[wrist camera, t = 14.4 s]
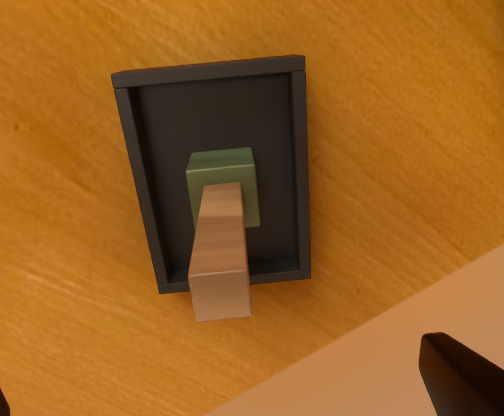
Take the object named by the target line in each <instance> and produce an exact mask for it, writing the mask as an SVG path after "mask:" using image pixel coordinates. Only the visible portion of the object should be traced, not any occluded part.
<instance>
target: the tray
mask: <svg viewBox="0 0 504 416" xmlns="http://www.w3.org/2000/svg"><path fill="white" fill-rule="evenodd" d="M304 70H305V56H303V55H297V54H296V55H285V56H275V57H264V58H253V59H243V60H232V61H222V62H211V63H201V64H190V65H180V66H169V67H158V68H148V69H137V70H127V71H121V72H117V73H113V74H111V79H112V84H113V88H114V92H115V97H116V101H117V106H118V110H119V115H120V119H121V124H122V128H123V133H124V137H125V142H126V146H127V151H128V155H129V160H130V164H131V169H132V173H133V178H134V182H135V186H136V191H137V195H138V200H139V204H140V209H141V213H142V218H143V222H144V227H145V231H146V236H147V240H148V245H149V249H150V254H151V258H152V263H153V267H154V272H155V276H156V280H157V284H158V290H159V294H167V293H177V292H186V291H190V286H189V281H188V273H189V267H190V261H191V256H192V250H193V245H194V239H195V233H196V231H195V227H194V221H193V215H192V209H191V203H190V197H189V191H188V185H187V179H186V173H185V172H186V169H187V166H188V163H189V160H190V157H191V154H192V153H195V152H205V151H215V150H225V149H235V148H245V147H251V148H252V153H253V157H254V162H255V169H256V180H257V192H258V203H259V215H260V226H256V227H246V228H245V233H246V245H247V257H248V269H249V280H250V285H253V284H263V283H273V282H282V281H292V280H302V279H311V253H310V216H309V180H308V144H307V107H306V72H305V71H304Z"/></svg>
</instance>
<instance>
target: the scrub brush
mask: <svg viewBox="0 0 504 416" xmlns="http://www.w3.org/2000/svg"><path fill="white" fill-rule="evenodd" d="M185 173H186V179H187V185H188V191H189V197H190V203H191V209H192V215H193V221H194V227H195V231H196V233H195V239H194V245H193V250H192V256H191V261H190V267H189V273H188V281H189V286H190V292H191V297H192V303H193V308H194V313H195V319H196V321H197V322H206V321H216V320H225V319H234V318H244V317H250V316H251V315H252V304H251V292H250V280H249V269H248V257H247V245H246V233H245V228H246V227H256V226H260V215H259V203H258V192H257V180H256V169H255V162H254V157H253V153H252V148H251V147H245V148H235V149H225V150H215V151H205V152H195V153H192V154H191V157H190V160H189V163H188V166H187V169H186V172H185Z"/></svg>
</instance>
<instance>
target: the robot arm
mask: <svg viewBox="0 0 504 416" xmlns="http://www.w3.org/2000/svg"><path fill="white" fill-rule="evenodd" d="M419 370H420V373H421V376H422V378H423V381H424V383H425V386H426V388H427V391H428V393H429V396H430V398H431V401H432V403H433V406H434V408H435V411H436V413H437V416H504V370H503V369H502V368H500V367H498V366H497V365H495V364H494V363H492V362H490V361H489V360H487V359H485V358H484V357H482V356H481V355H479V354H478V353H476V352H474V351H473V350H471V349H470V348H468V347H466V346H465V345H463V344H462V343H460V342H458V341H457V340H455V339H454V338H452V337H450V336H449V335H447V334H445V333H443V332H436V333H427V334H424V335H423V336H422V339H421V347H420V355H419ZM0 416H10V407H9V405H8V403H7V401H6V399H5V397H4V395H3V393H2V391H1V389H0Z"/></svg>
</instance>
